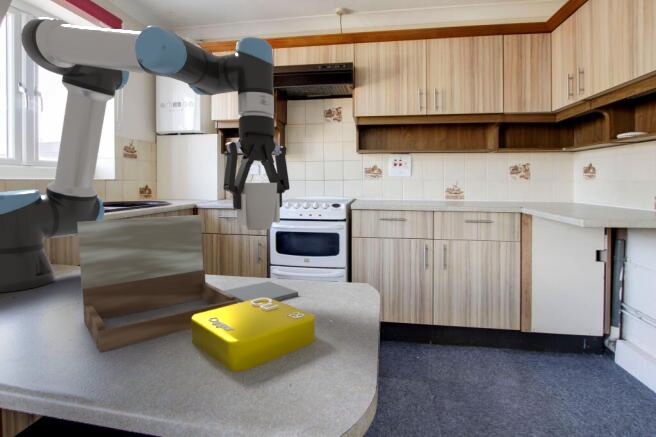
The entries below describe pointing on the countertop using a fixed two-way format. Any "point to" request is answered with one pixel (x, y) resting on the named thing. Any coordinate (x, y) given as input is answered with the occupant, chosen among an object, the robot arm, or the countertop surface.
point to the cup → (260, 205)
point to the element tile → (251, 332)
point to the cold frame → (143, 276)
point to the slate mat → (262, 292)
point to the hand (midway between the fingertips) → (259, 223)
